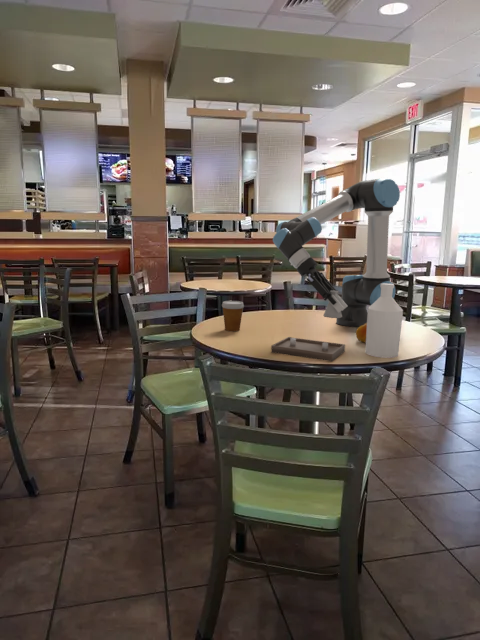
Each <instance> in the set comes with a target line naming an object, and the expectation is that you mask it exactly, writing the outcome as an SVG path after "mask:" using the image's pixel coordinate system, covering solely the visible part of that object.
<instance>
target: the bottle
mask: <svg viewBox="0 0 480 640" xmlns="http://www.w3.org/2000/svg"><path fill="white" fill-rule="evenodd" d="M394 286H395V284H394V283H393V284H389V283H381V285H380V287H381V296H380V297H379V298H378V299H377V300H376V301H375V302H374V303H373V304H372V305H371V306H370V305H368V306H367V313H368V314H367V331H366V343H365V349H364V350H365V351H364V352H365V354H366V355H369V356H372V357H376V358H383V359H384V358H385V359H389V358H390V359H392V358H397V357H398V356H399V351H400V350H399V349H400V342H401V331H402V321H403V315H404V309H403V308H402V307H401V306H400V305H399V304H398V303H397V302H396V300H395V298H394V299H393V298H392V293H393V288H394Z"/></svg>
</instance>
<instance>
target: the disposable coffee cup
mask: <svg viewBox="0 0 480 640" xmlns="http://www.w3.org/2000/svg"><path fill="white" fill-rule="evenodd" d="M221 307H222V312H223V313H222V314H223V322H224V324H223V325H224V330H225V331H226V332H239V331H241V325H242V323H241V322H242V317H243V316H242V315H243V310H244V307H245V305H244V302H243V301H239V300H225V301H222V304H221Z"/></svg>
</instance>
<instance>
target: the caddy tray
mask: <svg viewBox="0 0 480 640" xmlns="http://www.w3.org/2000/svg"><path fill="white" fill-rule="evenodd" d="M270 348H271V350H270V351H271V353H272V354H273V353H274V354H278V355H279V354H280V355H287V356H291V357H293V356H294V357H300V358H306V359H307V358H308V359H313V360H319V361H320V360H321V361H327V362H333V361H335V360H336V359H337V358H338V357H339V356H341V355H342V354H344V352H345V350H346V344H345V343H338V342H337V343H336V342H330V341H329V342H327V341H322V340H314V339H308V338H307V339H306V338H299V337H298V338H297V337H292V336H291V337H290V336H288V337H285V338H283V339H282V340H280V341H278V342H275V343H274V344H272V345H271V347H270Z"/></svg>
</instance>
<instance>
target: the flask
mask: <svg viewBox="0 0 480 640" xmlns="http://www.w3.org/2000/svg"><path fill="white" fill-rule="evenodd" d="M330 292H331V294H332V295H334V296H335V297H336V299H337V300H338V295H339V290H338V291H335V290H331V291H330ZM332 295H331V296H332ZM341 317H342V314H341V311H340V312H339V313H338V312H337V310H336V309H335V308H334V307H333V306H332V305H331V303H330V302H329V301H328V303H327V306H326V308H325V311H324V313H323V318H328V319H329V318H331V319H337V318H341Z"/></svg>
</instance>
